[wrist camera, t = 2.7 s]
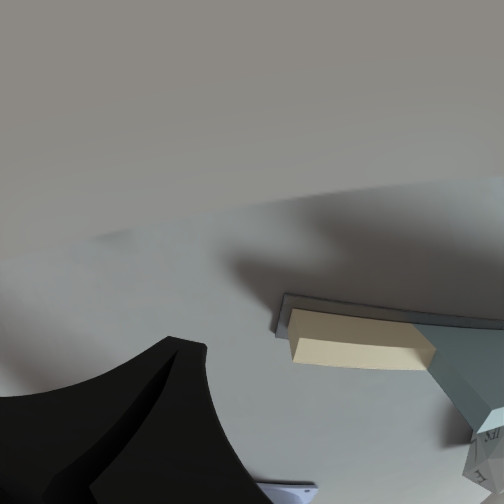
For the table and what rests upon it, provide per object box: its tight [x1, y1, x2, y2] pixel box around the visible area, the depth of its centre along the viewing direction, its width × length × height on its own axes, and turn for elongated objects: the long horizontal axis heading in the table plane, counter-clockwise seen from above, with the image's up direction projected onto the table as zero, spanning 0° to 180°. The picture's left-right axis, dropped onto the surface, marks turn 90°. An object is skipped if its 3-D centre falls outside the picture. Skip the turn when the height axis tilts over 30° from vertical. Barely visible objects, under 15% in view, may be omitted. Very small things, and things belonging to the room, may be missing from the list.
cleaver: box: [287, 309, 504, 434], centre depth 10 cm, size 24×1×8 cm, turn 80°
